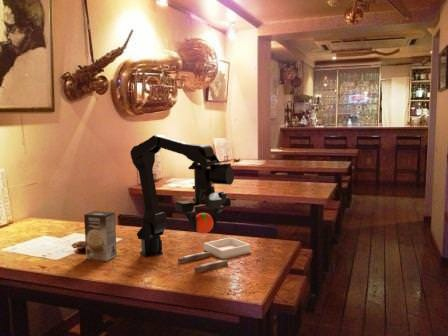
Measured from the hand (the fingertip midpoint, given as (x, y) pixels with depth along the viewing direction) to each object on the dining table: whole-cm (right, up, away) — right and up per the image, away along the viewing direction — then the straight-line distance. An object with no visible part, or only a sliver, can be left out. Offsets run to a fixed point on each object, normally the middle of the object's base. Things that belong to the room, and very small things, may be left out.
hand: (204, 229), depth 134 cm
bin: (+8, -10, +13) cm, 18 cm away
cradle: (-1, -12, 0) cm, 11 cm away
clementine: (0, -2, 0) cm, 2 cm away
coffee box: (-37, -12, +9) cm, 40 cm away
